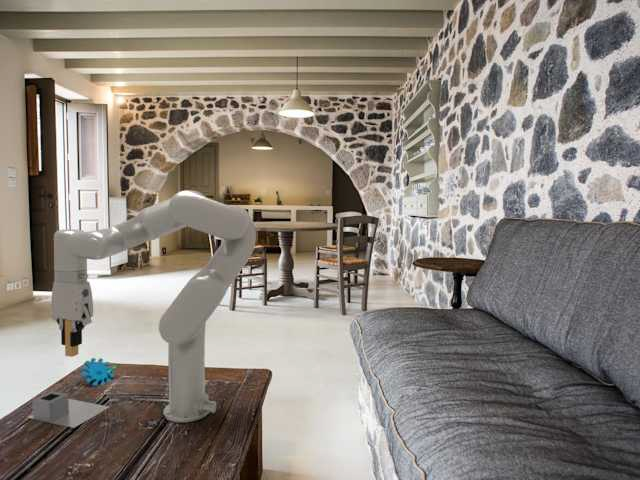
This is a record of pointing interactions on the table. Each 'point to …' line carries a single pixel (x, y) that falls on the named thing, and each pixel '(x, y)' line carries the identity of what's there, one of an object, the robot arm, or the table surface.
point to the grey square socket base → (63, 409)
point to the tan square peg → (68, 349)
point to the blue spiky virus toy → (97, 371)
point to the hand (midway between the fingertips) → (71, 343)
